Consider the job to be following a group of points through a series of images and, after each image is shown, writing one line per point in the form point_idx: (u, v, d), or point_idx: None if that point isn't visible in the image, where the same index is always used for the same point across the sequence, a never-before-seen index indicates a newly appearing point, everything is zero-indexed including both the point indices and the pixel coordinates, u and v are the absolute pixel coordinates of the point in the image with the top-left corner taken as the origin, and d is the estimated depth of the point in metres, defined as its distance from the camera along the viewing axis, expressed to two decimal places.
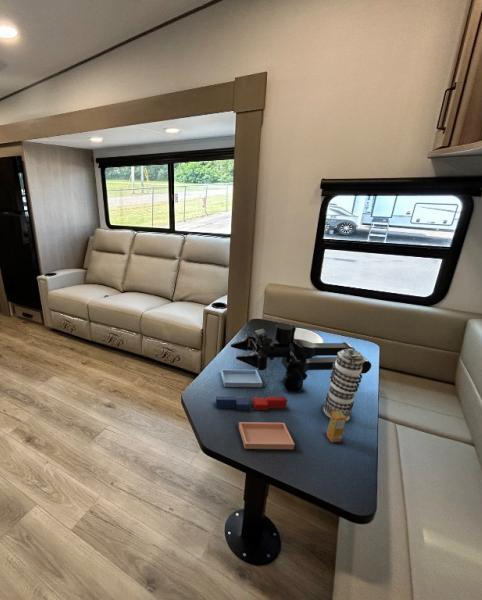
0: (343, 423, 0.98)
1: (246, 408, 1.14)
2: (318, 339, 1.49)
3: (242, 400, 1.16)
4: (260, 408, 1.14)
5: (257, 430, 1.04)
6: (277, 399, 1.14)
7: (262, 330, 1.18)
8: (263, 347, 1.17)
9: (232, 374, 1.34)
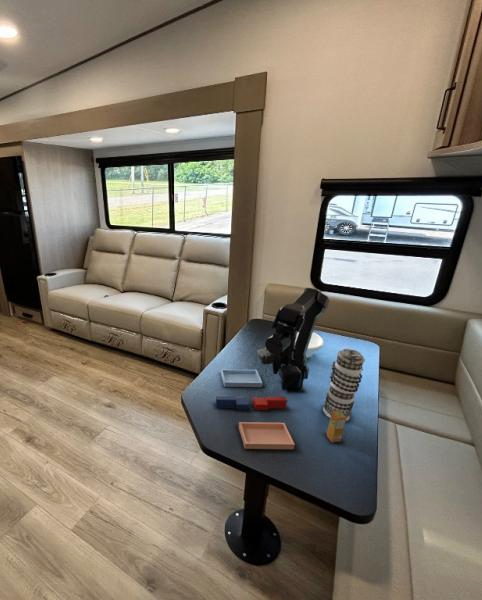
0: (343, 423, 0.98)
1: (246, 408, 1.14)
2: (318, 339, 1.49)
3: (242, 400, 1.16)
4: (260, 408, 1.14)
5: (257, 430, 1.04)
6: (277, 399, 1.14)
7: None
8: (277, 360, 1.06)
9: (232, 374, 1.34)
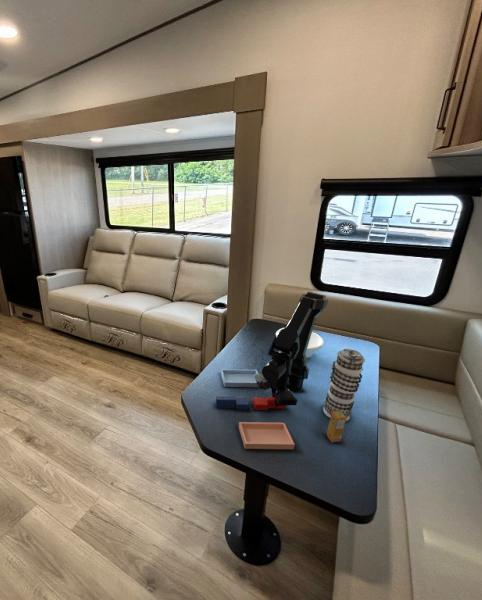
0: (343, 423, 0.98)
1: (246, 408, 1.14)
2: (318, 339, 1.49)
3: (242, 400, 1.16)
4: (260, 408, 1.14)
5: (257, 430, 1.04)
6: None
7: None
8: (274, 385, 1.09)
9: (232, 374, 1.34)
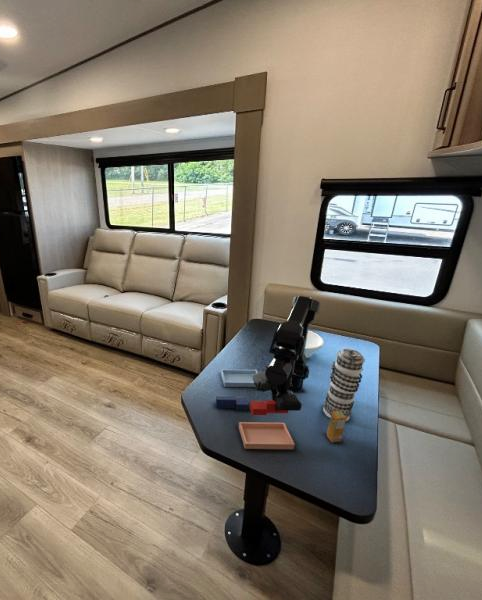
0: (343, 423, 0.98)
1: (246, 408, 1.14)
2: (318, 339, 1.49)
3: (242, 400, 1.16)
4: (258, 413, 0.99)
5: (257, 430, 1.04)
6: None
7: (253, 379, 0.97)
8: (274, 386, 0.94)
9: (232, 374, 1.34)
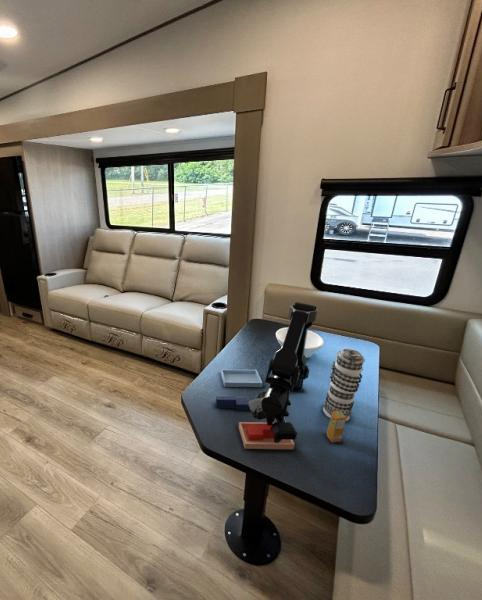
0: (343, 423, 0.98)
1: (246, 408, 1.14)
2: (318, 339, 1.49)
3: (242, 400, 1.16)
4: (254, 439, 1.00)
5: None
6: None
7: (249, 406, 0.98)
8: (270, 414, 0.95)
9: (232, 374, 1.34)
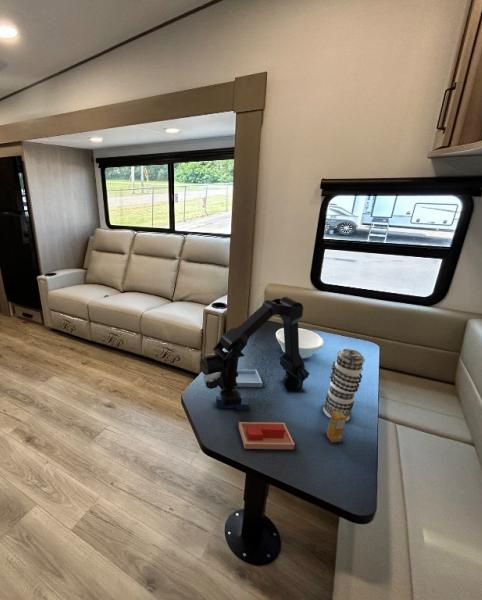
0: (343, 423, 0.98)
1: (246, 408, 1.14)
2: (318, 339, 1.49)
3: (242, 400, 1.16)
4: (254, 439, 1.00)
5: None
6: (274, 428, 1.00)
7: (204, 378, 1.13)
8: (221, 384, 1.10)
9: None
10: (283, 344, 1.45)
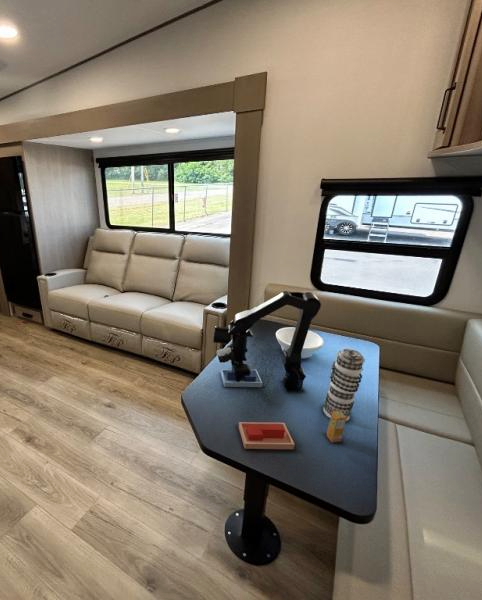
0: (343, 423, 0.98)
1: (254, 380, 1.29)
2: (318, 339, 1.49)
3: (250, 373, 1.30)
4: (254, 439, 1.00)
5: None
6: (274, 428, 1.00)
7: (217, 354, 1.27)
8: (232, 359, 1.24)
9: None
10: (283, 344, 1.45)
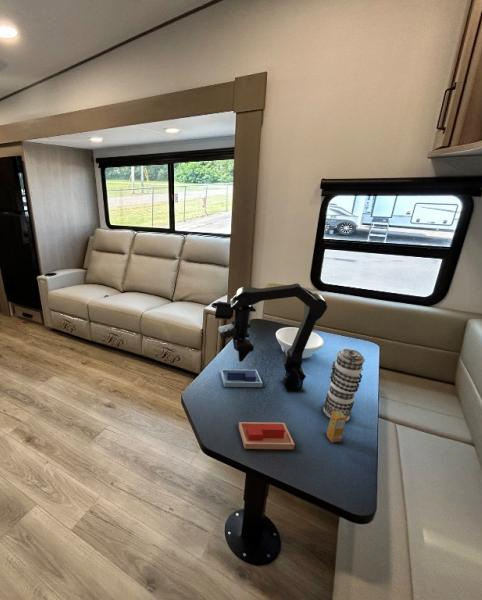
0: (343, 423, 0.98)
1: (254, 380, 1.29)
2: (318, 339, 1.49)
3: (250, 373, 1.30)
4: (254, 439, 1.00)
5: None
6: (274, 428, 1.00)
7: None
8: (234, 335, 1.20)
9: None
10: (283, 344, 1.45)
